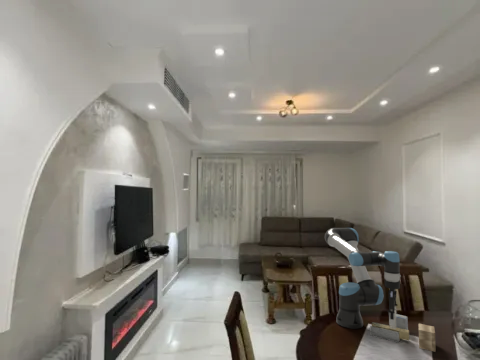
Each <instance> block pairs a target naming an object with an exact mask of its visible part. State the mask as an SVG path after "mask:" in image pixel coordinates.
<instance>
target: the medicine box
mask: <svg viewBox="0 0 480 360" xmlns="http://www.w3.org/2000/svg"><path fill="white" fill-rule="evenodd" d="M408 319H409V318H408V316H406V315H402V314H398V313H396V327H398V328H401V329H406V330H409V322H408Z"/></svg>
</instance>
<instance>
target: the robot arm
mask: <svg viewBox="0 0 480 360" xmlns="http://www.w3.org/2000/svg"><path fill="white" fill-rule="evenodd" d="M324 240H325V242H326V244H327V245H329V247H333V248H335V249H337V250H338V252H340V253H341V254H343V255H344V256H345V257H346V258H347V260H348V261H349V262H348V263H349V264H350V267H351V268H350V269H352V270H351V271H352V273H353V275H354V277H355V279H356V280H355V281H356V282H351V281H349V282H348V281H347V282H343V283H341V284H340V285H339V286H338V287H339V288H338V297H339V298H338V300H339V302H338V303H339V306H338V307H339V309H338V311H337V314H336V321H335V322H336V323H337V325H339V326H341V327H342V328H346V329H354V330H355V329H361V328H363V326H364V319H363V317H362V315H361V312H360V311H361V309H360V307H361V306H377V305H381V304H382V302H383V300H384V290H383V287H381V285H380V284H376V283H375V280H374V279H373V278H371V276H370V274H369V272H368V270H367V267H368V266H369V267H371V266H372V267H373V266H380V267H383V268H384V271H383V273H384V275H383V277H384V287H385V288H387V289H388V290H387V291H388V292H387V293H388V310H387V312H388V324H389V325H388V326H390V325H393V326H395V312H394V309H396V310H397V307H398V303H397V290H399V289H401V282H400V281H401V278H402V275H401V273H400V272H401V270H400V269H401V268H400V267H401V266H400V265H401V264H400V262H401V261H400V260H401V259H400V253H398V251H393V250H388V251H387V250H385V251H384V252H381V251H377V250H372V251H370V252H367V251H366V252H364V251H363V252H362V251H361V250H359V248H358V246H359V242H360V241H359V240H360V239H359V233H358V232H357V230H356V229H354V228H352V227H331V228H329V229H328V230H326V232H325V233H324Z"/></svg>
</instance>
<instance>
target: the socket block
mask: <svg viewBox="0 0 480 360" xmlns="http://www.w3.org/2000/svg"><path fill="white" fill-rule="evenodd" d="M418 348H419V349H422V350H425V351H431V352H435V353H436V331H435V326H432V325H428V324H424V323H423V324H422V323H418Z"/></svg>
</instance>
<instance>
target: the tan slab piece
mask: <svg viewBox="0 0 480 360" xmlns="http://www.w3.org/2000/svg"><path fill="white" fill-rule="evenodd" d="M394 312H395V326H393V325H388V324H384V323H383V324H384V325H383V324H382V323H379V324H378V322H374V323H373V321H372V322H371V326H374V327H378V328H383V329H388V330H392V331H397V332H399V339H400V340H405V341H407V342H409V341H410V330H409V329H408V330H406V329H401V328H397V327H396V314H397V308H396V309H394ZM387 325H388V326H387Z"/></svg>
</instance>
